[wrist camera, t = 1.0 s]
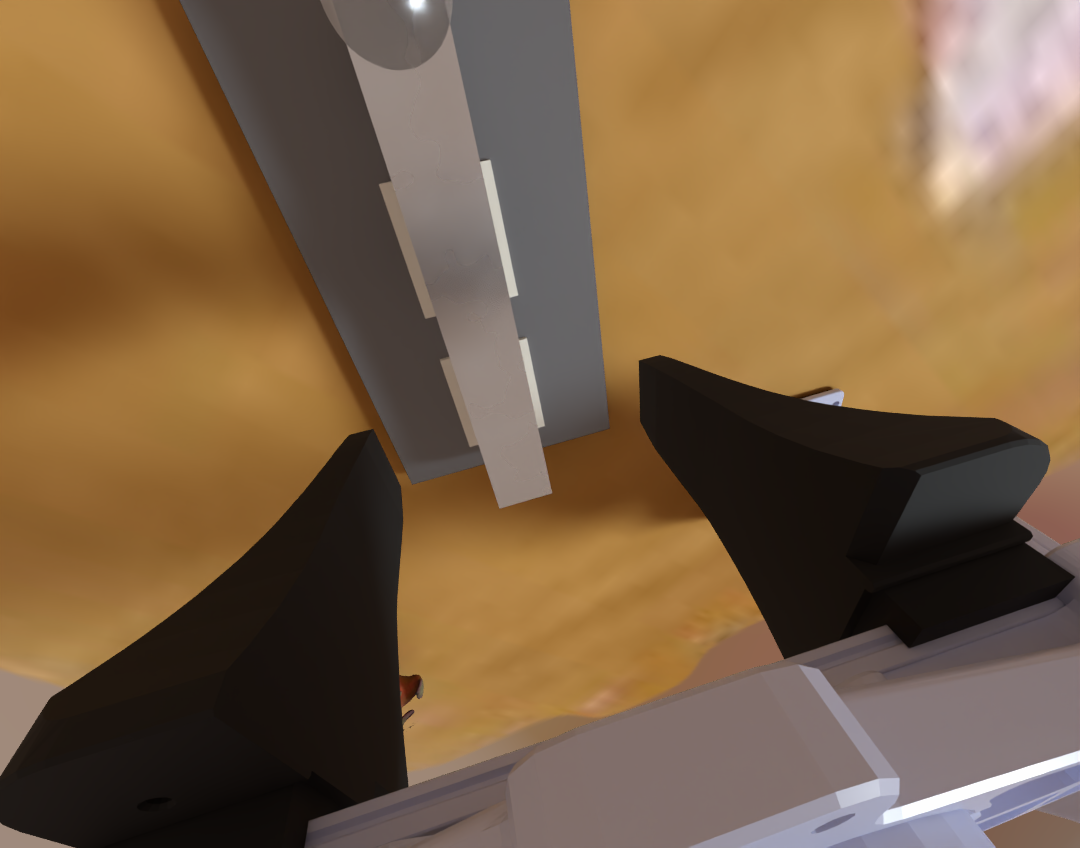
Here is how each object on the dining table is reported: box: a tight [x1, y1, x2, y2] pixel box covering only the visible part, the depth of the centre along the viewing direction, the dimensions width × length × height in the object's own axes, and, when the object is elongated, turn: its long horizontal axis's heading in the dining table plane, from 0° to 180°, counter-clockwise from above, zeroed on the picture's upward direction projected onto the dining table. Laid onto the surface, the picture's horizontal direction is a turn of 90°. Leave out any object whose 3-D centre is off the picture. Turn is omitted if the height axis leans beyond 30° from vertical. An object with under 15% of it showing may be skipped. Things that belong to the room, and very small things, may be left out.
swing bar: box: [320, 0, 552, 509], centre depth 15 cm, size 18×3×2 cm, turn 10°
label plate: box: [180, 0, 610, 485], centre depth 17 cm, size 19×11×3 cm, turn 10°
